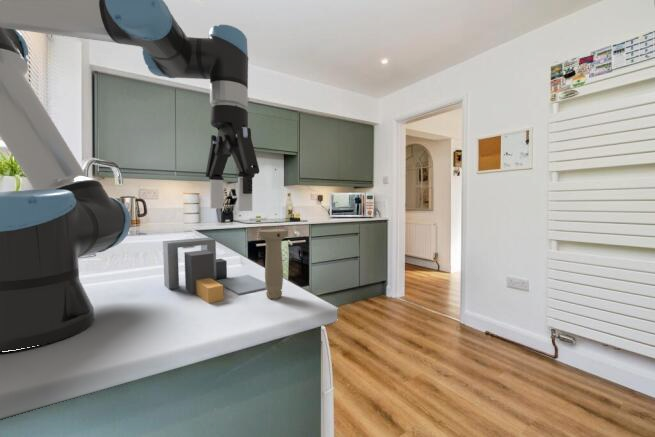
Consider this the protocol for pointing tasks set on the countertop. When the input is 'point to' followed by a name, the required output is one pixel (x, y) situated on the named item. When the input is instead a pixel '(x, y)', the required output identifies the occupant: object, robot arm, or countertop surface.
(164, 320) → the countertop surface
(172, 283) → the housing
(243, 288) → the mat
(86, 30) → the robot arm
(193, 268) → the grey and tan block
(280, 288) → the handle
